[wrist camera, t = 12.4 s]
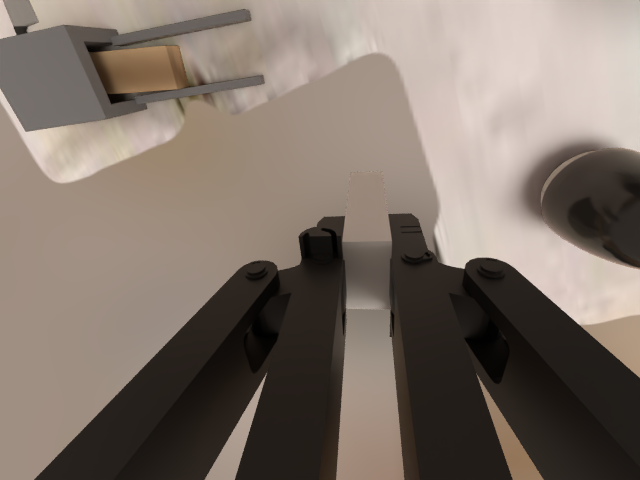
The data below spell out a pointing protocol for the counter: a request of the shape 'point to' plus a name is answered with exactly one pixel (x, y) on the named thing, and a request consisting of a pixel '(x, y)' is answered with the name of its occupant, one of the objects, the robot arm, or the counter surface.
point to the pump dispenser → (597, 204)
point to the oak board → (140, 69)
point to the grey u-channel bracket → (86, 72)
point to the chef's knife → (20, 14)
